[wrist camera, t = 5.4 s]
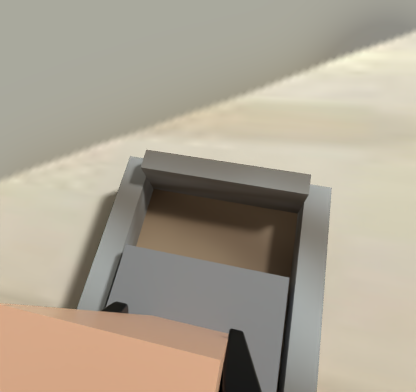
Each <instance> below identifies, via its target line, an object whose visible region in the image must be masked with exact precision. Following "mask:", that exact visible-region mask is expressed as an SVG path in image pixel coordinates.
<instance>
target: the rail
mask: <svg viewBox="0 0 416 392" xmlns="http://www.w3.org/2000/svg"><path fill="white" fill-rule="evenodd" d="M310 179H311V175H309V174H303V173H296V172H289V171H283V170H276V169H270V168H263V167H257V166H250V165H243V164H237V163H230V162H224V161H217V160H210V159H204V158H197V157H191V156H184V155H178V154H171V153H164V152H158V151H151V150H146V153H145V156H144V158H138V157H132V156H130V158H129V161H128V164H127V167H126V170H125V173H124V175H123V178H122V181H121V184H120V187H119V190H118V193H117V195H116V198H115V201H114V204H113V207H112V210H111V213H110V215H109V218H108V221H107V224H106V227H105V230H104V233H103V235H102V238H101V241H100V244H99V247H98V250H97V253H96V255H95V258H94V261H93V264H92V267H91V270H90V273H89V275H88V278H87V281H86V284H85V287H84V290H83V293H82V295H81V298H80V301H79V304H78V307H77V309H78V310H90V311H100V310H102V309H104V308H105V307H106V306H107V302H108V299H109V296H110V293H111V290H112V287H113V284H114V280H115V277H116V274H117V271H118V268H119V265H120V262H121V258H122V255H123V252H124V249H125V246H126V244H127V245H132V246H137V247H141V248H146V249H151V250H156V251H161V252H166V253H171V254H176V255H181V256H186V257H191V258H195V259H200V260H205V261H210V262H215V263H220V264H225V265H230V266H235V267H240V268H244V269H249V270H254V271H259V272H264V273H269V274H274V275H279V276H284V277H289V285H288V294H287V303H286V312H285V320H284V329H283V338H282V346H281V355H280V364H279V372H278V381H277V390H276V392H317V380H318V366H319V353H320V339H321V325H322V312H323V298H324V285H325V271H326V257H327V244H328V230H329V216H330V203H331V189H332V188H329V187H323V186H317V185H310Z"/></svg>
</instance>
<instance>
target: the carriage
mask: <svg viewBox="0 0 416 392" xmlns="http://www.w3.org/2000/svg"><path fill="white" fill-rule="evenodd" d="M288 285H289V277H284V276H279V275H274V274H269V273H264V272H259V271H254V270H249V269H244V268H240V267H235V266H230V265H225V264H220V263H215V262H210V261H205V260H200V259H195V258H191V257H186V256H181V255H176V254H171V253H166V252H161V251H156V250H151V249H146V248H141V247H137V246H132V245H127V244H126V246H125V249H124V252H123V255H122V258H121V262H120V265H119V268H118V271H117V274H116V277H115V280H114V284H113V287H112V290H111V293H110V296H109V299H108V302H107V306H108V305H110V304H111V303H113V302H116V301H118V302H122V303H126V304H127V305H128V313H129V314H127V313H115V312H103V311H90V310H78V309H66V308H53V307H41V306H28V305H16V304H4V303H0V392H219V388H220V381H221V375H222V369H223V363H224V358H225V353H226V347H227V342H228V334H229V330H230V329H231V328H232V329H237V330H241V331H243V333H244V335H245V338H246V341H247V345H248V348H249V351H250V354H251V358H252V361H253V364H254V367H255V371H256V374H257V377H258V380H259V383H260V387H261V390H262V392H276V390H277V381H278V372H279V364H280V355H281V346H282V338H283V329H284V320H285V312H286V303H287V294H288ZM107 306H106V307H107Z"/></svg>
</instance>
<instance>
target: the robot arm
mask: <svg viewBox="0 0 416 392" xmlns="http://www.w3.org/2000/svg"><path fill="white" fill-rule="evenodd" d="M100 311H103V312H115V313H127V314H129V313H128V305H127V304H126V303H122V302H118V301H116V302H113V303H111V304H110V305H108V306H107V307H105V308H104V309H102V310H100ZM219 392H262V390H261V387H260V383H259V380H258V377H257V374H256V371H255V367H254V364H253V361H252V358H251V354H250V351H249V348H248V345H247V341H246V338H245V335H244V333H243V331H241V330H237V329H232V328H231V329H230V330H229V334H228V342H227V347H226V353H225V358H224V363H223V369H222V375H221V381H220V388H219Z"/></svg>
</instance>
